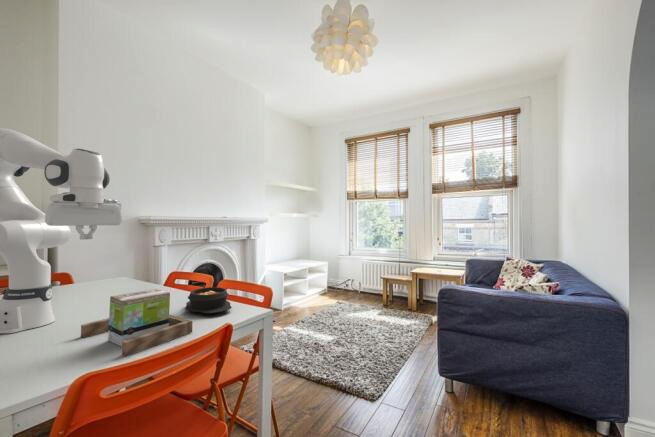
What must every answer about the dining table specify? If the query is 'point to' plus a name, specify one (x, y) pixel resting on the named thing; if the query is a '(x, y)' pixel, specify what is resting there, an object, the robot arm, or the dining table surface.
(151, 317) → the tea box
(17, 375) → the dining table surface
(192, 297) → the casserole
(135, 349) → the dock
